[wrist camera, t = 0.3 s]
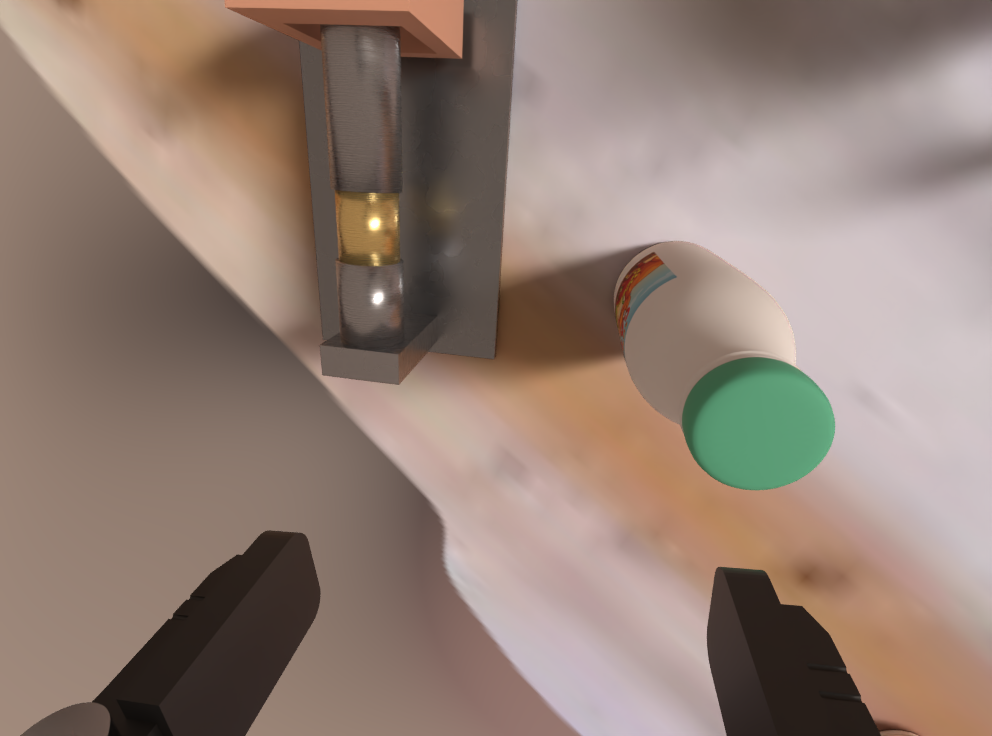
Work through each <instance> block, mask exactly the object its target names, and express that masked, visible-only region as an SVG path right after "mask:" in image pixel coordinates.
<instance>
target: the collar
mask: <svg viewBox="0 0 992 736" xmlns="http://www.w3.org/2000/svg"><path fill="white" fill-rule="evenodd" d="M225 7H226V8H228V9H230V10H233V11H235V12H237V13H239V14H241V15H244V16H246V17H248V18H250V19H253V20H255V21H257V22H259V23H261V24H264V25H266V26H268V27H270V28H273V29H275V30H277V31H279V32H281V33H284V34H286V35H288V36H290V37H293V38H295V39H297V40H299V41H301V42H304V43H306V44H308V45H310V46H312V47H315V48H317V49H319V50H321V51H322V48H321V32H320V24H330V25H370V26H400V35H401V57H424V58H453V59H462V46H463V9H464V0H225Z"/></svg>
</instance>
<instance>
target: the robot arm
mask: <svg viewBox="0 0 992 736" xmlns="http://www.w3.org/2000/svg"><path fill="white" fill-rule="evenodd" d="M319 603H320V586H319V582H318V578H317V574H316V570H315V566H314V562H313V558H312V554H311V550H310V546H309V542H308V539H307V537H306V536H305V535H304V534H303V533H294V532H281V531H265V532H263V533H262V534H261V535H260V536H259V537H258V538H257V539H256V540H255V541H254V542H253V544H252V545H251V546H250V547H249V548H248V549H247V550H246V552H244V554H243V555H236V556H235V557H233V558H232V559H230V560H229V561H227V562H226V563H225V564H223V565H222V566H220V567H219V568H217V569H216V570H214V571H213V572H212V573H210V574H209V575H208V577H207V578H206V579H205V580H204V581H203V582H202V583H201V584H200V585H199V587H197V589H196V590H195V591H194V592H193V593H192V594H191V595H190V599H189V600H186V601H185V602H184V603H183V604H182V605H181V606H180V607H179V608H178V609H177V610H176V611H175V613H174V614H173V618H172V619H168V620H167V621H166V622H165V624H164V625H163V626H162V627H161V628H160V629H159V630H158V631H157V632H156V633H155V634H154V636H153V637H152V638H151V639H150V640H149V641H148V642H147V643H146V644H145V645H144V647H143V648H142V649H141V650H140V651H139V652H138V653H137V654H136V655H135V656H134V657H133V658H132V660H131V661H130V662H129V663H128V664H127V665H126V666H125V667H124V668H123V669H122V670H121V672H120V673H119V674H118V675H117V676H116V677H115V678H114V679H113V680H112V681H111V682H110V684H109V685H108V686H107V687H106V688H105V689H104V690H103V691H102V692H101V693H100V694H99V695H98V696H97V697H96V698H95V700H93V701H92V702H87V703H80V704H75V705H71V706H69V707H66V708H63V709H61V710H59V711H57V712H55V713H52V714H51V715H49V716H47V717H45V718H44V719H42V720H40V721H39V722H38V723H36V724H34V725H33V726H32V727H30V728H29V729H28V730H27V731H25V732H24V733H23V734H22V735H20V736H245V735H246V733H247V732H248V730H249V728H250V727H251V725H252V723H253V722H254V720H255V718H256V717H257V715H258V713H259V712H260V710H261V708H262V707H263V705H264V703H265V702H266V700H267V698H268V697H269V695H270V693H271V692H272V690H273V688H274V686H275V685H276V683H277V681H278V680H279V678H280V676H281V675H282V673H283V671H284V670H285V668H286V666H287V665H288V663H289V661H290V660H291V658H292V656H293V654H294V653H295V651H296V650H297V648H298V646H299V645H300V643H301V641H302V640H303V638H304V636H305V635H306V633H307V631H308V629H309V628H310V626H311V624H312V623H313V621H314V619H315V617H316V614H317V611H318V608H319ZM707 648H708V657H709V663H710V668H711V672H712V677H713V681H714V685H715V689H716V693H717V697H718V701H719V706H720V710H721V714H722V718H723V722H724V726H725V730H726V734H727V736H881V734H880V732H879V730H878V728H877V726H876V725H875V723H874V721H873V719H872V717H871V715H870V713H869V711H868V709H867V707H866V705H865V703H862V701H861V695H860V693H859V691H858V689H857V687H856V685H855V683H854V681H853V679H852V678H851V676H850V674H847V671H846V666H845V664H844V662H843V660H842V658H841V656H840V654H839V652H838V650H837V648H836V646H835V644H834V642H833V640H832V638H831V636H830V634H829V633H828V632H827V631H826V630H825V629H824V628H823V627H822V626H821V625H820V624H819V623H818V622H817V621H816V620H815V619H814V618H813V617H812V616H811V615H810V614H809V613H808V612H807V611H806V610H805V609H804V608H803V607H802V606H795V605H783V604H780V601H779V599H778V597H777V595H776V592H775V590H774V588H773V585H772V583H771V581H770V579H769V577H768V575H767V573H766V572H765V571H763V570H753V569H740V568H727V567H718V568H717V569H716V572H715V577H714V584H713V591H712V598H711V605H710V612H709V619H708V626H707Z"/></svg>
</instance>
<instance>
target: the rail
mask: <svg viewBox="0 0 992 736" xmlns="http://www.w3.org/2000/svg"><path fill="white" fill-rule="evenodd" d="M516 15H517V0H464V9H463V46H462V59H453V58H424V57H401V35H400V26H370V25H330V24H320V32H321V48H322V51H321V50H319V49H317V48H315V47H312V46H310V45H308V44H306V43H304V42H301V41H299V45H300V57H301V70H302V83H303V95H304V108H305V120H306V133H307V145H308V158H309V170H310V183H311V196H312V208H313V221H314V233H315V246H316V258H317V271H318V283H319V296H320V308H321V321H322V334H323V340H327V341H325V342H324V343H322V344H321V345H320V353H321V365H322V375H324V376H332V377H340V378H348V379H356V380H364V381H372V382H380V383H388V384H396V385H399V384H400V383H401V382H402V381H403V380H404V379H405V377H406V376H407V375H408V374H409V373H410V372H411V370H412V369H413V368H414V367H415V366H416V365H417V364H418V362H419V361H420V360H421V359H422V358H423V357H424V356H425V354H426V353H427V352H436V353H445V354H453V355H462V356H471V357H479V358H488V359H495V357H496V341H497V325H498V309H499V292H500V276H501V260H502V243H503V227H504V211H505V195H506V178H507V162H508V146H509V129H510V113H511V97H512V80H513V64H514V48H515V31H516Z"/></svg>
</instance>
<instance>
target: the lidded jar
mask: <svg viewBox="0 0 992 736" xmlns="http://www.w3.org/2000/svg"><path fill="white" fill-rule="evenodd" d="M880 734H881V736H919V735H917V734H914V733H911V732H908V731H902V730H885V731H880Z"/></svg>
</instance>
